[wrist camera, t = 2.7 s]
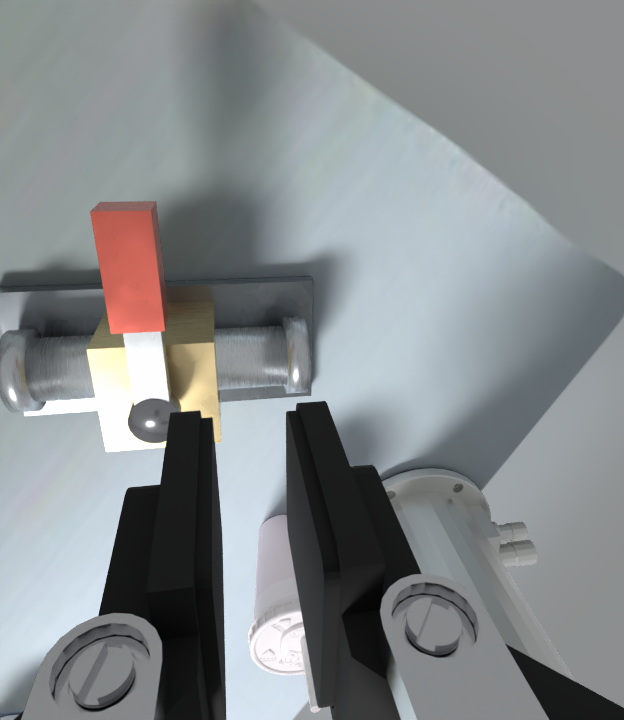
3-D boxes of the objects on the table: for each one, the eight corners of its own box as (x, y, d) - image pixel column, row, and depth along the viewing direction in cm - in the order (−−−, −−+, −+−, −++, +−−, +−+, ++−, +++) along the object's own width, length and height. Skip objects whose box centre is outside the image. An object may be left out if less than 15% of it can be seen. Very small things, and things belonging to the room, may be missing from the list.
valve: (310, 276, 33) (336, 324, 26) (308, 388, 36) (331, 456, 30) (-2, 287, 30) (-66, 344, 23) (29, 407, 34) (-18, 487, 27)
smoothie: (335, 513, 42) (387, 688, 30) (298, 569, 44) (331, 754, 32) (263, 491, 40) (286, 669, 27) (227, 551, 42) (233, 741, 29)
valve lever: (183, 427, 27) (181, 451, 25) (134, 431, 26) (129, 455, 25) (158, 201, 22) (153, 210, 20) (97, 202, 22) (87, 211, 20)
